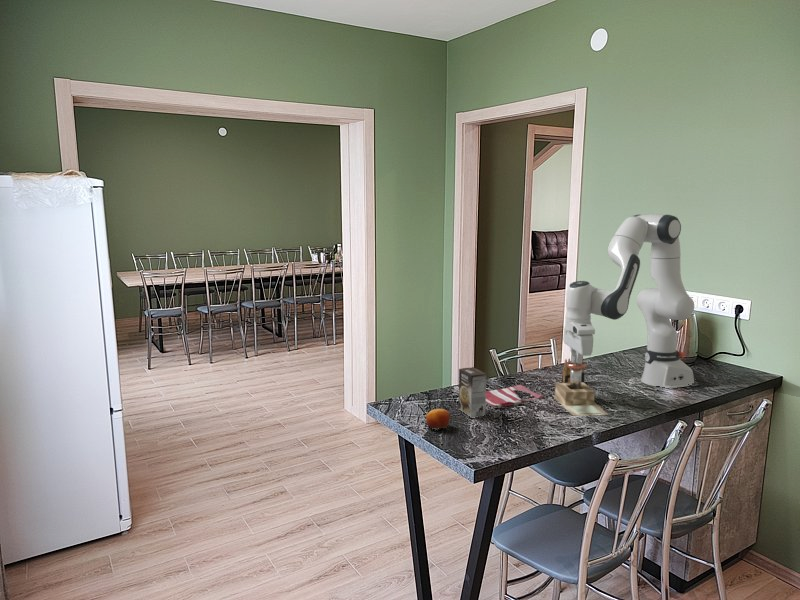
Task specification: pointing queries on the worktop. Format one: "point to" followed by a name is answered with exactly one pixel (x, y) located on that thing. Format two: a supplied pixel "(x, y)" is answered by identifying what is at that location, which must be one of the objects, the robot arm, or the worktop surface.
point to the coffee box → (472, 391)
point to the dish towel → (508, 396)
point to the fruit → (438, 418)
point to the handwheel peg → (575, 372)
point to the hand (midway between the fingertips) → (576, 361)
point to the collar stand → (577, 400)
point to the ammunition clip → (567, 373)
